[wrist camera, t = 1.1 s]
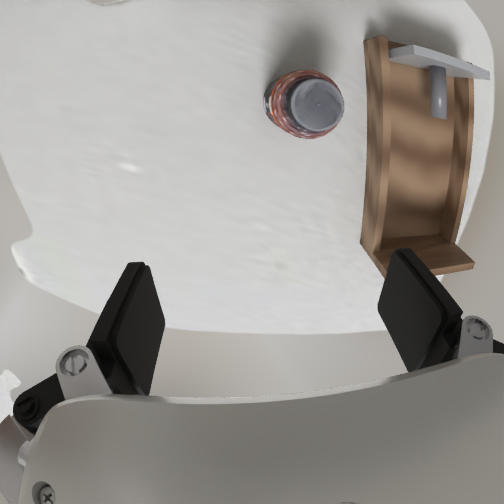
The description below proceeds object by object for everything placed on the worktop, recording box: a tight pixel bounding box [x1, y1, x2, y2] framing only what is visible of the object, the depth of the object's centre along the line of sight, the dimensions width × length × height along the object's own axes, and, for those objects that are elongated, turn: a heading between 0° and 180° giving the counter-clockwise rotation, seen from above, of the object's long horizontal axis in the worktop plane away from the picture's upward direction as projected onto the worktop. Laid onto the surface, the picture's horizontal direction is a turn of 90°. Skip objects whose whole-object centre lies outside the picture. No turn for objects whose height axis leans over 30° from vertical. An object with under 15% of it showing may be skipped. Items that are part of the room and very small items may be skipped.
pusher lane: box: [360, 36, 475, 278], centre depth 26 cm, size 26×14×9 cm, turn 4°
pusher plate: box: [388, 44, 490, 120], centre depth 21 cm, size 7×11×7 cm, turn 94°
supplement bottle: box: [263, 70, 344, 139], centre depth 22 cm, size 6×6×11 cm
